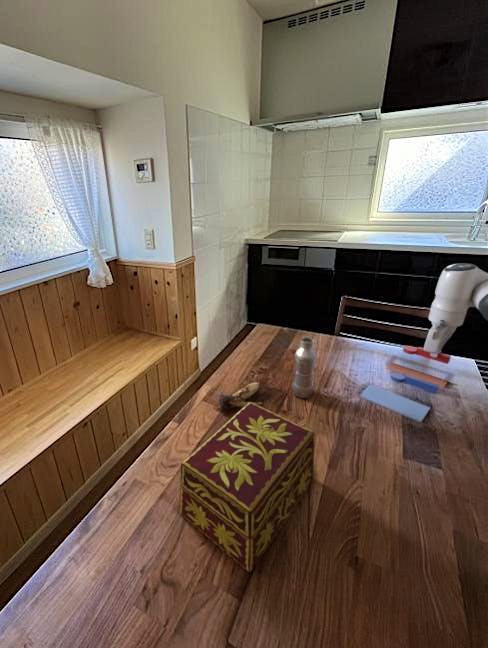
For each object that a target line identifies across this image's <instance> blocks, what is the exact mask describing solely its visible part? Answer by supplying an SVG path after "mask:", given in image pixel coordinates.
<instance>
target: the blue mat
mask: <svg viewBox="0 0 488 648" xmlns="http://www.w3.org/2000/svg"><path fill="white" fill-rule="evenodd" d="M359 398H361V399H363V400H366V401H368V402H371V403H374V404H375V405H378V406H380V407H382V408H385V409H387V410H390V411H393V412H394V413H397V414H400V415H402V416H404V417H406V418H409V419H411V420H414V421H416V422H418V423H422V422H423V420H424V419H425V418H426V416H427V415H428V413H429V411H430V410H431V407H430V406H426V405H424V404H423V403H419V402H417V401H414V400H412V399H409V398H406V397H404V396H401V395H399V394H396V393H393V392H391V391H388V390H386V389H384V388H381V387H378V386H375V385H373V384H369V385H368V386H367V387H366V388H365V389H364V390H363V391H362V392H361V393H360V395H359Z"/></svg>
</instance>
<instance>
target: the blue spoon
mask: <svg viewBox="0 0 488 648" xmlns="http://www.w3.org/2000/svg"><path fill="white" fill-rule="evenodd" d="M390 380H392V381H394V382H397V383H403V384H404V383H405V384H407V385H410V386H411V387H412V386H413V387H415V388H418V389H421V390H423V391H426V392H428V393H429V392H430V393H432V394H434V395H436V394H437V392H438V389H439V387H438V386H439V385H436V384H433V383H430V382H427V381H424V380H422V379H419V378H416V377H413V376H410V375H403V374H401V373H398V372H392V373H391V375H390Z"/></svg>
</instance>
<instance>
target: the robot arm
mask: <svg viewBox="0 0 488 648" xmlns="http://www.w3.org/2000/svg"><path fill="white" fill-rule="evenodd" d="M434 295H435V296H434V299H433V301H432V302H431V305H430V310H429V313H428V317H427V319H428V320H429V321H430V322H431V325H432V326H431V327H430V329H429V331H428V333H427V335H426V339H425V342H424V345H423V348H424V351H426V352H429V353H431V354H430V356H432V357H435V358H436V357H437V356H438V354H439V353H442V349H443V348H444V346H445V344H446V343H447V342H448V341H449V339H450V338H452V336H453V334H454V333H455V332H456V330H457V328H458V327H461V326H462V325H463V324H464V323H465V322H464V321H465V319H466V317H467V316H466V315H467V312H468V310H469V308H471V307H472V308H476V309H477V310H478V311H479V312H480V314H481V315H482V316H483V318H484V319H485V320H486V321H488V272H486V271H484V270H482V269H481V268H479V267H478V266H477V265H475V264H472V263H465V262H463V263H462V262H461V263H453V264H450V265H448V266H446V267H444V269H443V270H442V271H441V274H440V276H439V278H438V281H437V284H436V287H435V291H434Z"/></svg>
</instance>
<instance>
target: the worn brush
mask: <svg viewBox="0 0 488 648" xmlns="http://www.w3.org/2000/svg"><path fill="white" fill-rule="evenodd" d="M260 389H261V384H260V383H259V382H258V381H256V382H255V381H254V382H251V383H249V384H246V385H245V386H243V387H242V388H240V389H239V390H238V391H236V392H234V393H233V394H231V395H230V396H229V395H227V394H222V393H221V394H219V395H218V398H219V399H218V402H219V405H218V406H217V411H218V412H220V413H225V412H226V413H228V412H230V411H231V410H232V409H233V408H236V407H237V408H241V409H242V408H243V407H244V406H245V405H247V404H248V403H249V402H250V401H249V402H248V401H247V400H248V399H249V398H250V397H252V396H253V395H254V394H255V393H256V392H258V390H260ZM251 402H252V401H251ZM252 403H254V404H256V405H258V406H260V407H261V406H262V405H263V404H262V403H263V401H261V402H254V401H253V402H252ZM227 411H228V412H227Z"/></svg>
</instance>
